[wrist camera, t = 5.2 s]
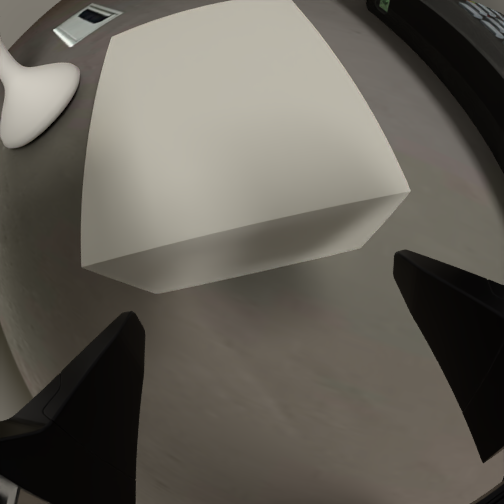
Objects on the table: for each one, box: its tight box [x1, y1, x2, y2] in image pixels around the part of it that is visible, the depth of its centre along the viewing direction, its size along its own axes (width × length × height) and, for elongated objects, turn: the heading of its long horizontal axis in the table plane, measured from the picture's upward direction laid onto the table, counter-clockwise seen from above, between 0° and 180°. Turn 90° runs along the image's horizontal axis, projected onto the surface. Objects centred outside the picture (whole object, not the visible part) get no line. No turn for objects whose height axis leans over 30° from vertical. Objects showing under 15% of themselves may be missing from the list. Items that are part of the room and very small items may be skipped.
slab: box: [81, 0, 411, 294], centre depth 15 cm, size 16×12×8 cm
